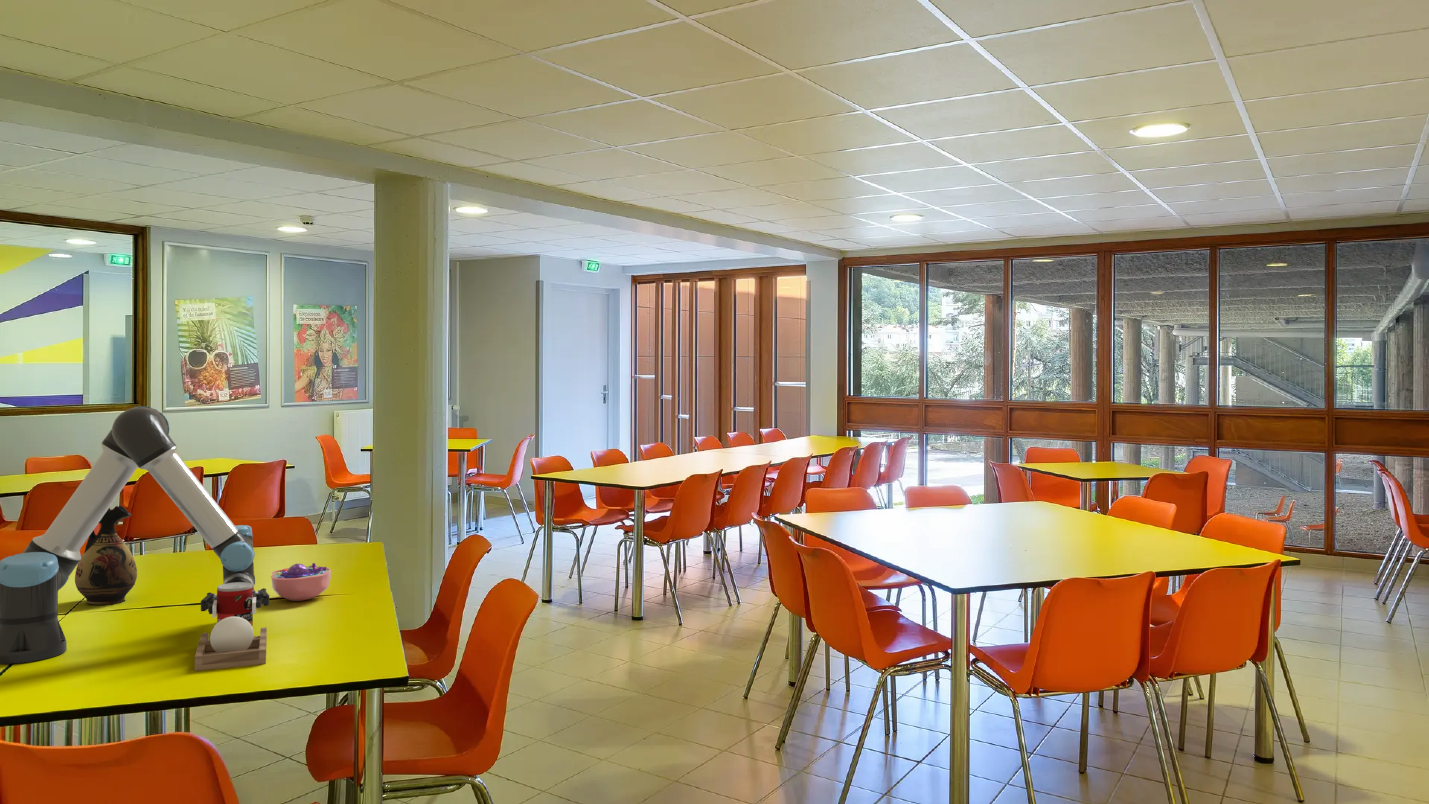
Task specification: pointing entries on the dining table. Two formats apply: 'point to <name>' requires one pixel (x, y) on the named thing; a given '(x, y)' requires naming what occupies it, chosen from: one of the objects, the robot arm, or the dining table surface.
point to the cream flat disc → (231, 635)
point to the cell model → (301, 581)
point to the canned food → (235, 601)
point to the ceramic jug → (106, 563)
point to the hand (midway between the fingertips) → (234, 609)
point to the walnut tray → (230, 654)
